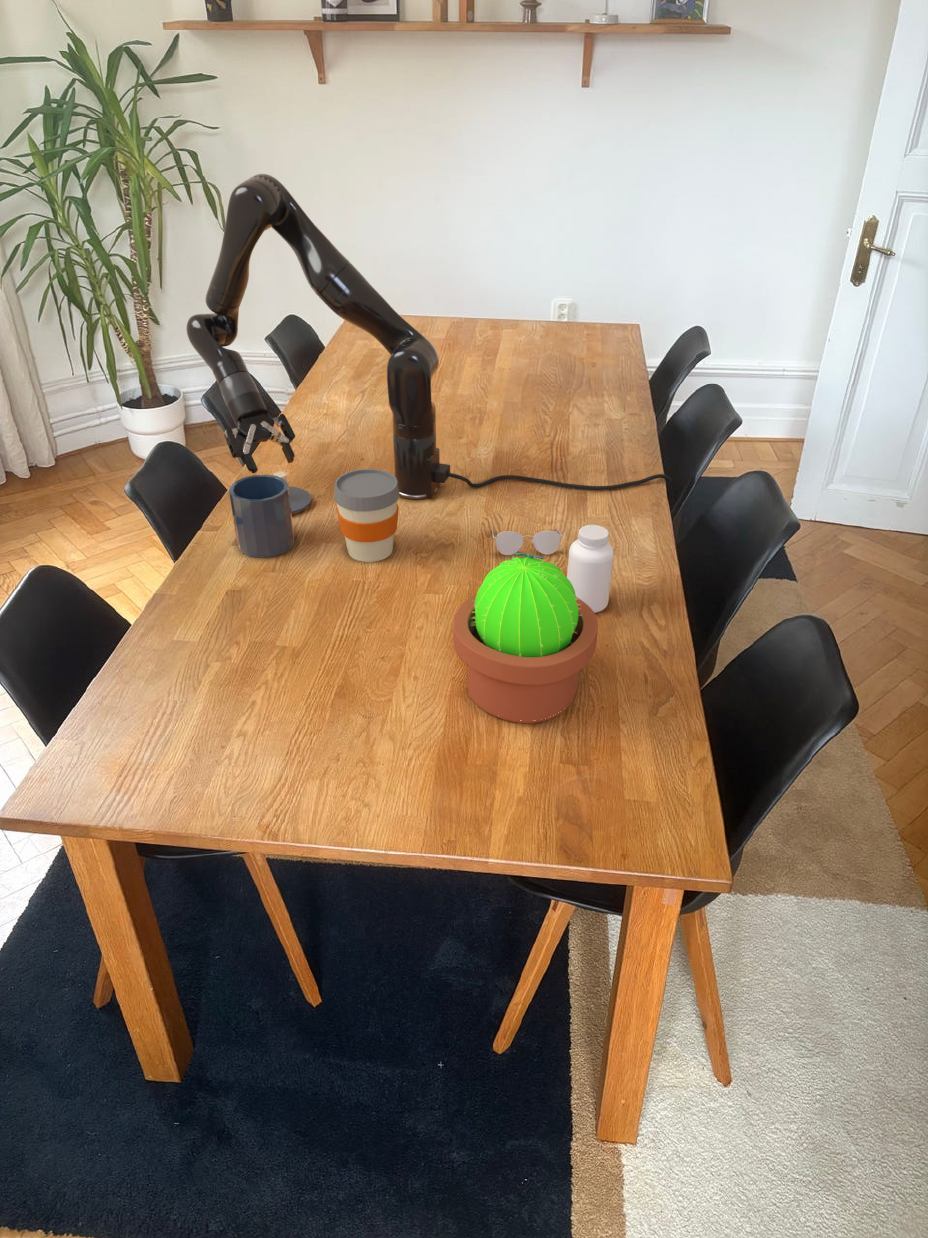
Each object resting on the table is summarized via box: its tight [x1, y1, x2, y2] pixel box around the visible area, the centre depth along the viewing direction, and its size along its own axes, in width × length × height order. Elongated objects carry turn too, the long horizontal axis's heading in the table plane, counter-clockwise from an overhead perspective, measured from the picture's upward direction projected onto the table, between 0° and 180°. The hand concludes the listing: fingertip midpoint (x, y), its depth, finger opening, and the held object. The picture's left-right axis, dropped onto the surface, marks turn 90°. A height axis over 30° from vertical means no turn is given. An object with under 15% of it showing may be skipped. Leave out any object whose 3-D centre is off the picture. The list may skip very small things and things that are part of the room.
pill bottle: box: [566, 524, 615, 614], centre depth 170 cm, size 8×8×15 cm
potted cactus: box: [452, 552, 599, 724], centre depth 147 cm, size 22×22×25 cm
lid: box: [272, 471, 312, 515], centre depth 203 cm, size 12×12×7 cm
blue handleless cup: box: [228, 474, 295, 559], centre depth 188 cm, size 11×11×13 cm
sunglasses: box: [491, 527, 564, 556], centre depth 191 cm, size 14×8×5 cm, turn 92°
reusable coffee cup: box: [333, 468, 400, 563], centre depth 185 cm, size 12×12×15 cm
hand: (273, 466), depth 202 cm, fingers open, 8 cm apart
